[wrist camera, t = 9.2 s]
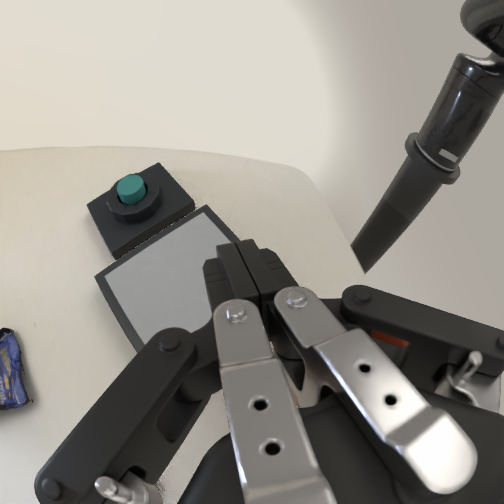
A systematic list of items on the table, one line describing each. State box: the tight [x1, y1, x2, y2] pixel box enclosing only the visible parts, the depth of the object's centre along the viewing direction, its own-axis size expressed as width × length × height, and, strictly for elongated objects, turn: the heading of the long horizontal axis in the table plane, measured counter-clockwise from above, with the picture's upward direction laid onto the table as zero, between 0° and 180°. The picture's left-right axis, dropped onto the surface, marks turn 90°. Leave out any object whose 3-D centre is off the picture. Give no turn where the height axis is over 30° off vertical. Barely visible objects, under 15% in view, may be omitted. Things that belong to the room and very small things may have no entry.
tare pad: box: [87, 162, 195, 260], centre depth 27 cm, size 10×8×3 cm
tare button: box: [117, 175, 146, 205], centre depth 25 cm, size 3×3×2 cm
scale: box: [94, 204, 240, 353], centre depth 23 cm, size 13×13×2 cm
